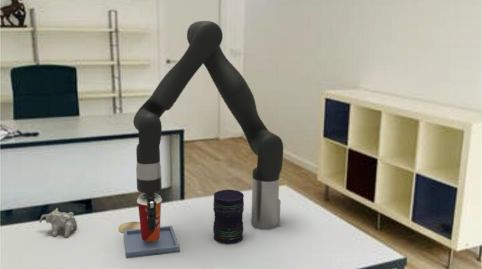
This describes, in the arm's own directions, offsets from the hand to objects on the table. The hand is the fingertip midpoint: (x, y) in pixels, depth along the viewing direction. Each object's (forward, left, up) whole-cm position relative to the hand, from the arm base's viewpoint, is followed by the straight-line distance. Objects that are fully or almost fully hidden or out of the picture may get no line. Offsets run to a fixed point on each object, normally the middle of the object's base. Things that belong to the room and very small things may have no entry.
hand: (150, 225), depth 151 cm
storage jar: (-25, +2, -6) cm, 26 cm away
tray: (0, 0, -6) cm, 6 cm away
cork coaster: (+5, -13, -6) cm, 15 cm away
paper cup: (0, 0, -5) cm, 5 cm away
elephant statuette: (+29, -15, -7) cm, 33 cm away
